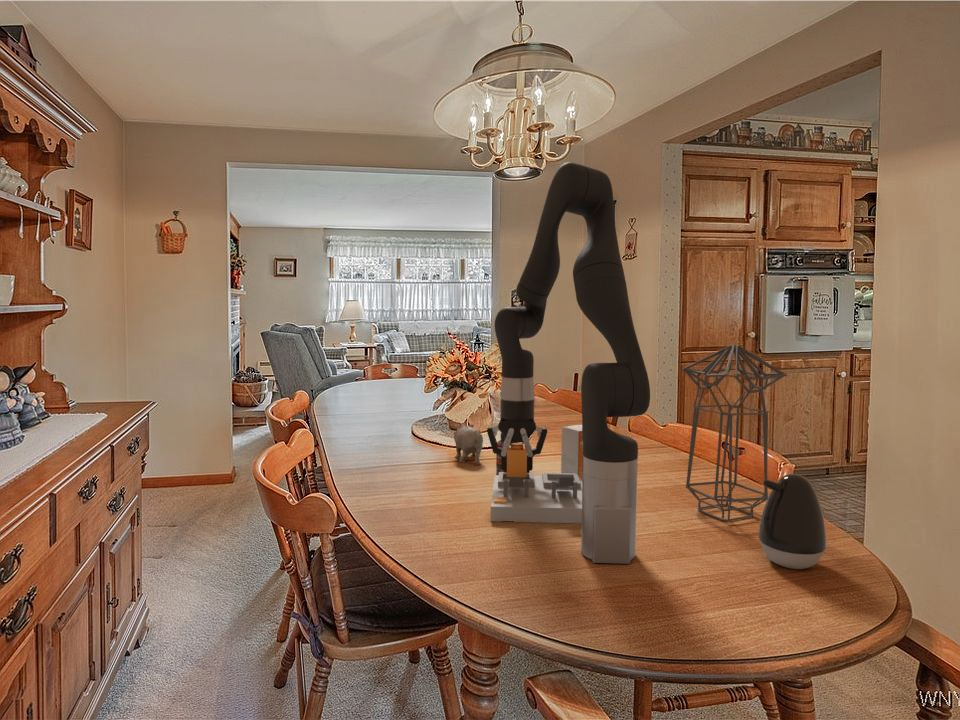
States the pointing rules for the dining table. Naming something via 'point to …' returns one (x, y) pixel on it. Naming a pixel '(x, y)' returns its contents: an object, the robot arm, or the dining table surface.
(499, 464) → the supplement bottle
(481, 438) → the rhinoceros figurine
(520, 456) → the cap
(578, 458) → the small box
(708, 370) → the geometric lantern
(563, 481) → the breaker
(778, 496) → the pump dispenser
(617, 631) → the dining table surface
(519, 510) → the breaker panel
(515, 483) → the breaker
